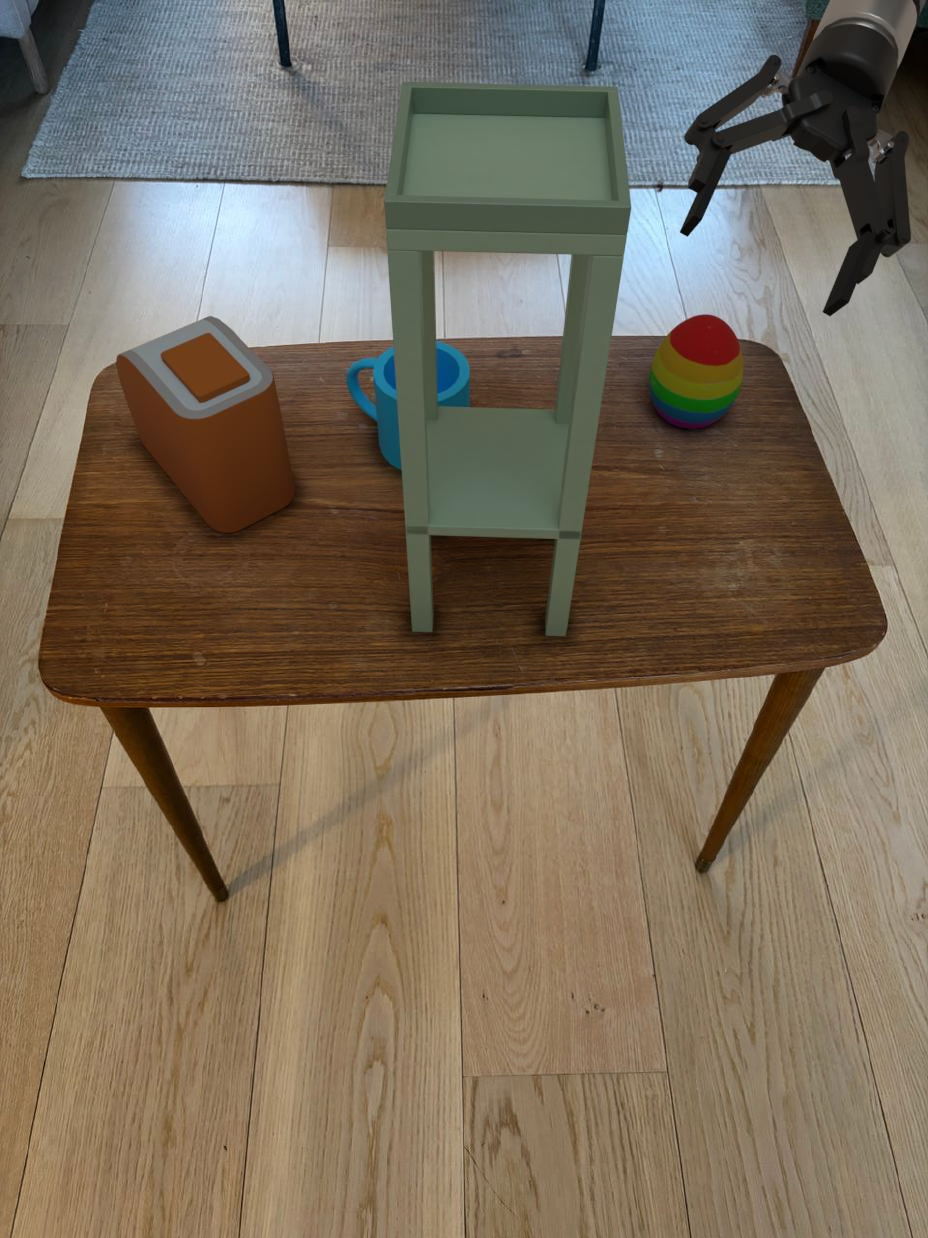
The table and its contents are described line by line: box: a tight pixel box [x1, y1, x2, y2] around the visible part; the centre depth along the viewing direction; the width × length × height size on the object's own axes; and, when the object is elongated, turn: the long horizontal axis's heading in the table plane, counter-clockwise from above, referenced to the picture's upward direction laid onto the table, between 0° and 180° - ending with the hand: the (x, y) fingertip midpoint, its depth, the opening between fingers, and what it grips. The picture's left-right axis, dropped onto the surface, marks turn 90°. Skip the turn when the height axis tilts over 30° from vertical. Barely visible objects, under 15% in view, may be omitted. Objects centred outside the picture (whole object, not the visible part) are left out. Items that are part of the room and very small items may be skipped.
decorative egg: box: [648, 313, 744, 430], centre depth 88 cm, size 8×8×10 cm
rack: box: [383, 81, 632, 637], centre depth 66 cm, size 12×12×36 cm
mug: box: [345, 340, 471, 471], centre depth 87 cm, size 12×8×8 cm
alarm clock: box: [115, 315, 296, 534], centre depth 82 cm, size 15×8×14 cm, turn 37°
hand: (763, 267), depth 79 cm, fingers open, 13 cm apart
